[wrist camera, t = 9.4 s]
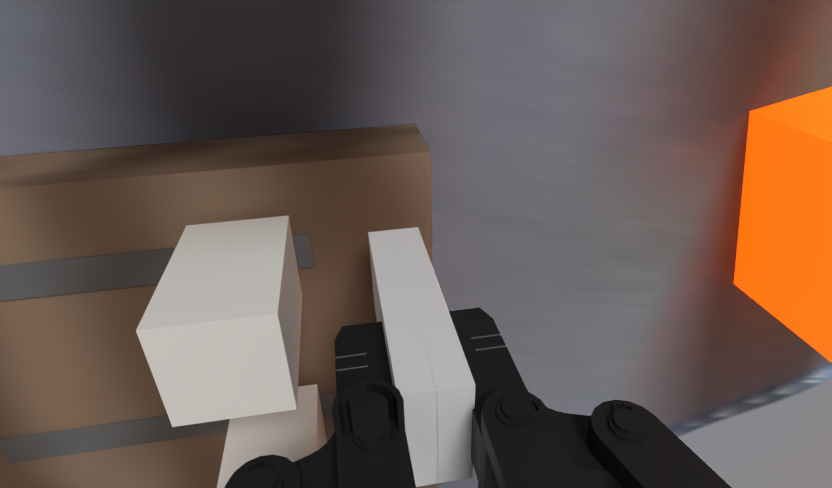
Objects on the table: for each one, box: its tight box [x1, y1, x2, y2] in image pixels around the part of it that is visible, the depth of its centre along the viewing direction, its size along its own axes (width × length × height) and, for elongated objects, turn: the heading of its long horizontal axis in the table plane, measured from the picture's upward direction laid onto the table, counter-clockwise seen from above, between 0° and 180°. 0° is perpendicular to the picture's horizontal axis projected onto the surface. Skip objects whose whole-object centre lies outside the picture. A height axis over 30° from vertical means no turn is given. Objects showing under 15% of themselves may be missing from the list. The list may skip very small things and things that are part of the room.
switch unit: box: [0, 124, 437, 488], centre depth 20 cm, size 20×20×5 cm
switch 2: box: [217, 384, 327, 488], centre depth 18 cm, size 3×3×5 cm
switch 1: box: [136, 215, 302, 427], centre depth 14 cm, size 3×3×5 cm
